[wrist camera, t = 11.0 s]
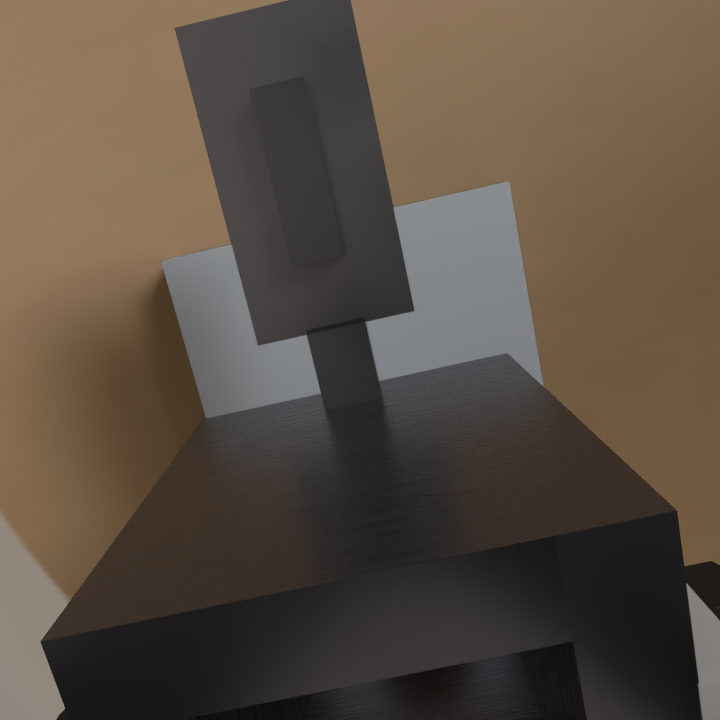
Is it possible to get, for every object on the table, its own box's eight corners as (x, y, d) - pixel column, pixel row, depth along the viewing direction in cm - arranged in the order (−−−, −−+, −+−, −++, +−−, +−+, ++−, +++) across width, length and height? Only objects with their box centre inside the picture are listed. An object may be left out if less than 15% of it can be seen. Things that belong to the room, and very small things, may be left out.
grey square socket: (102, 68, 13) (-247, -130, 6) (441, -14, 13) (568, -341, 5) (278, 681, 17) (210, 1098, 9) (555, 625, 16) (739, 1005, 9)
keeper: (174, 257, 22) (83, 281, 15) (499, 183, 22) (570, 170, 14) (276, 621, 25) (243, 790, 18) (564, 563, 25) (650, 712, 17)
